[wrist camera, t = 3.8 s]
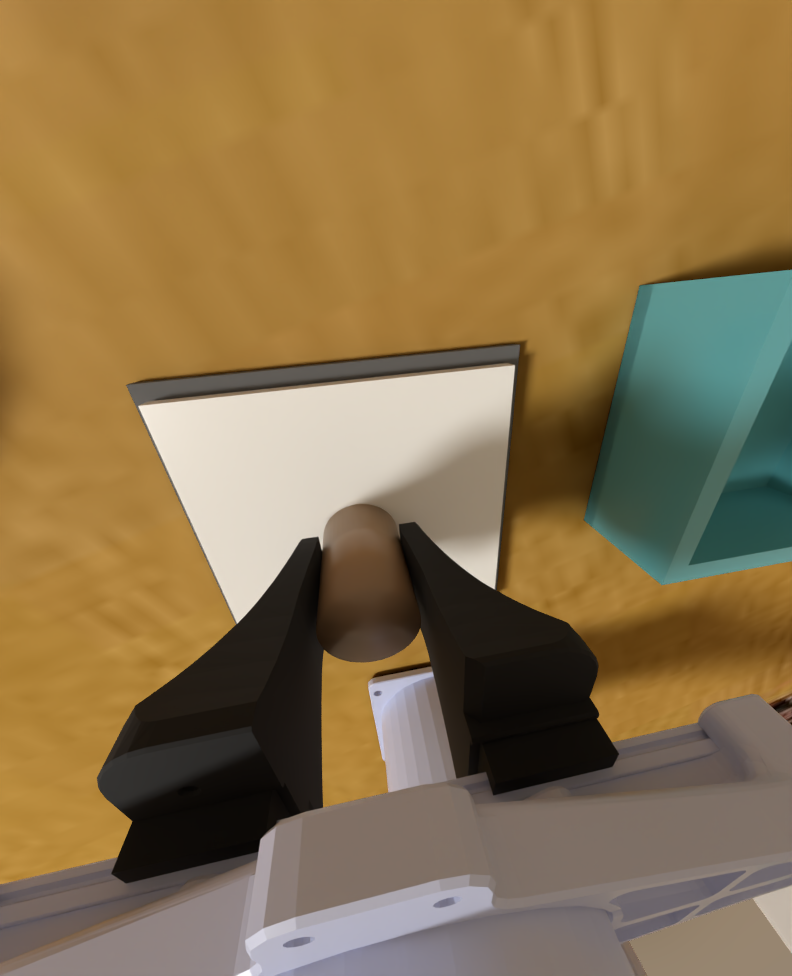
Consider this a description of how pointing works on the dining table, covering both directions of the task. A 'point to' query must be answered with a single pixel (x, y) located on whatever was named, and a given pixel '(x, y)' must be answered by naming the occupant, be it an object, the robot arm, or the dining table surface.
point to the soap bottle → (778, 912)
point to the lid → (343, 488)
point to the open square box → (701, 430)
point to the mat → (322, 374)
